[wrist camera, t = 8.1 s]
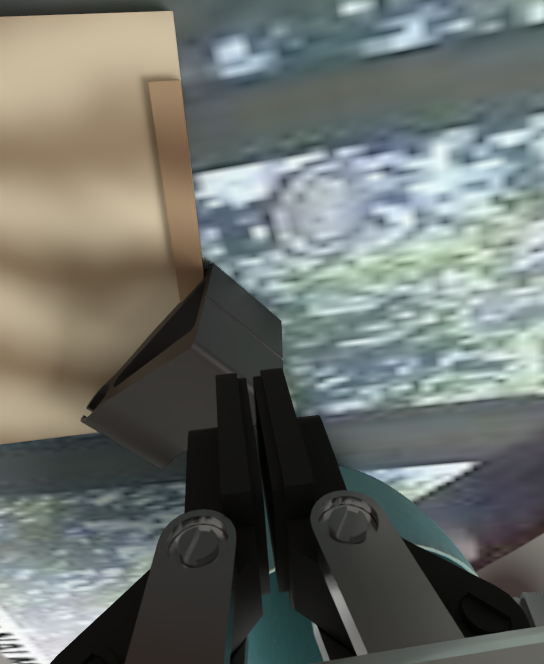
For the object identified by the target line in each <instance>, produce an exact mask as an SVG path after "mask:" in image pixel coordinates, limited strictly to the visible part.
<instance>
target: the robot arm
mask: <svg viewBox="0 0 544 664" xmlns="http://www.w3.org/2000/svg"><path fill="white" fill-rule="evenodd" d="M215 379H216V402H217V425H218V427H215V428H206V429H198V430H189V432H188V447H187V470H186V493H185V514H182V515H180V516H179V517H177V518H176V519H174V520H173V521H171V522H170V523H169V524H168V526H167V527H166V528H165V529H164V530H163V532H162V534H161V536H160V538H159V540H158V544H157V547H156V551H155V555H154V558H153V562H152V566H151V569H150V570H149V571H148V572H146V573H145V574H144V575H143V576H142V577H141V578H140V579H139V580H138V581H137V582H136V583H135V584H134V585H133V586H131V587H130V588H129V589H128V590H127V591H126V592H125V593H124V594H123V595H122V596H121V597H120V598H119V599H118V600H116V601H115V602H114V603H113V604H112V605H111V606H110V607H109V608H108V609H107V610H106V611H105V612H104V613H102V614H101V615H100V616H99V617H98V618H97V619H96V620H95V621H94V622H93V623H92V624H91V625H90V626H89V627H87V628H86V629H85V630H84V631H83V632H82V633H81V634H80V635H79V636H78V637H77V638H76V639H75V640H73V641H72V642H71V643H70V644H69V645H68V646H67V647H66V648H65V649H64V650H63V651H62V652H61V653H60V654H58V655H57V656H56V658H55V659H54V660H53V661H52V662H51V663H50V664H248V648H249V642H248V634H249V632H250V631H251V630H252V629H253V627H254V626H255V625H256V623H257V622H258V621H259V620H260V618H261V617H262V616H263V607H262V595H269V594H271V589H270V575H269V562H268V549H267V536H266V523H265V510H264V499H265V506H266V512H267V519H268V526H269V532H270V539H271V545H272V552H273V559H274V565H275V572H276V578H277V585H278V591H279V593H282V592H288V593H289V599H290V605H291V608H295V610H296V611H297V612H299V613H300V614H302V615H303V616H304V617H306V618H307V619H309V620H310V621H312V627H313V632H314V636H315V639H316V641H317V644H318V647H319V650H320V652H321V655H322V658H323V661H324V662H318V663H312V664H544V593H543V594H542V593H530V592H523V593H522V596H521V598H515V597H511V596H510V595H509V594H507V593H506V592H504V591H503V590H501V589H500V588H498V587H497V586H495V585H493V584H491V583H489V582H487V581H485V580H483V579H481V578H479V577H477V576H475V575H474V574H472V573H470V572H468V571H466V570H464V569H462V568H460V567H458V566H456V565H454V564H452V563H450V562H448V561H446V560H444V559H442V558H441V557H439V556H437V555H435V554H433V553H431V552H429V551H427V550H425V549H423V548H421V547H419V546H417V545H415V544H413V543H411V542H409V541H408V540H406V539H404V538H402V537H400V535H399V534H398V532H397V530H396V529H395V527H394V526H393V524H392V523H391V521H390V520H389V518H388V516H387V515H386V513H385V512H384V510H383V509H382V508H381V506H380V505H379V504H378V503H377V502H376V501H375V500H373V499H372V498H370V497H369V496H367V495H365V494H362V493H359V492H356V491H348V490H347V488H346V486H345V483H344V480H343V477H342V475H341V472H340V469H339V466H338V464H337V461H336V458H335V455H334V453H333V450H332V447H331V444H330V442H329V439H328V436H327V433H326V431H325V428H324V425H323V422H322V420H321V418H320V416H319V415H315V416H307V417H298V418H296V414H295V411H294V407H293V404H292V400H291V397H290V393H289V390H288V387H287V383H286V380H285V376H284V373H283V369H282V368H274V369H265V370H260V376H253V390H254V403H255V415H256V428H257V441H258V453H257V447H256V440H255V434H254V427H253V420H252V414H251V407H250V401H249V394H248V387H247V381H246V377H244V378H237V373H228V374H219V375H215ZM258 454H259V460H258ZM259 465H260V467H259ZM262 486H263V488H262ZM263 493H264V497H263Z"/></svg>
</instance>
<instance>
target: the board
mask: <svg viewBox="0 0 544 664" xmlns="http://www.w3.org/2000/svg"><path fill="white" fill-rule="evenodd" d="M203 279H204V271H203V262H202V254H201V245H200V237H199V229H198V220H197V212H196V203H195V195H194V186H193V178H192V169H191V161H190V153H189V144H188V136H187V127H186V119H185V110H184V102H183V94H182V85H181V77H180V68H179V60H178V51H177V43H176V34H175V26H174V18H173V12H172V11H157V12H128V13H99V14H70V15H41V16H12V17H0V444H8V443H16V442H24V441H32V440H40V439H48V438H56V437H64V436H72V435H80V434H88V433H96V432H97V431H96V430H94V429H92V428H91V427H89V426H87V425H86V424H84V423H82V422H81V418H82V416H83V415H85V416H86V417H88V416H89V415H90V414H91V413H92V412H91V411H90V410H88V409H86V407H87V405H88V404H89V402H90V401H91V400H92V398H93V397H94V396H95V394H96V393H97V392H98V391H99V390H100V388H101V387H102V386H103V385H104V384H106V383H107V382H108V381H109V380H110V379H111V378H112V377H113V376H114V375H115V374H116V373H117V372H118V371H119V370H120V369H121V368H122V366H123V365H124V364H125V363H126V362H127V361H128V359H129V358H130V357H131V356H132V355H133V354H134V353H135V351H136V350H137V349H138V348H139V347H140V346H141V344H142V343H143V342H144V341H145V340H146V339H147V337H148V336H149V335H150V334H151V333H152V332H153V331H154V330H155V328H156V327H157V326H158V325H159V324H160V323H161V322H162V321H163V320H164V319H165V318H166V317H167V316H168V314H169V313H170V312H171V311H172V310H173V309H174V308H175V307H176V306H177V305H178V304H179V303H180V304H181V303H182V301H183V300H184V299H185V298H186V297H187V296H188V295H189V294H190V293H191V292H192V291H193V290H194V289H195V287H196V286H197V285H198V284H199V283H200V282H201V281H202V280H203Z"/></svg>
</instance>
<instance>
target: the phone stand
mask: <svg viewBox="0 0 544 664" xmlns="http://www.w3.org/2000/svg"><path fill="white" fill-rule="evenodd" d="M282 357H283V355H282V325H281V320H279V319H278V318H277V317H276V316H275V315H274V314H272V313H271V312H270V311H269V310H268V309H267V308H265V307H264V306H263V305H262V304H261V303H260V302H258V301H257V300H256V299H255V298H254V297H253V296H251V295H250V294H249V293H248V292H247V291H246V290H244V289H243V288H242V287H241V286H240V285H238V284H237V283H236V282H235V281H234V280H233V279H231V278H230V277H229V276H228V275H227V274H226V273H224V272H223V271H222V270H221V269H220V268H219V267H217V266H216V265H215V264H214V263H212V264H211V265H210V266H209V267H208V268H207V269H206V270H205V272H204V279H203V280H202V281H201V282H200V283H199V284H198V285H197V286H196V287H195V289H194V290H193V291H192V292H191V293H190V294H189V295H188V296H187V297H186V298H185V299H184V300H183V301H182V303H181V304H180V303H179V304H178V305H177V306H176V307H175V308H174V309H173V310H172V311H171V312H170V313H169V314H168V316H167V317H166V318H165V319H164V320H163V321H162V322H161V323H160V324H159V325H158V326H157V327H156V328H155V330H154V331H153V332H152V333H151V334H150V335H149V336H148V337H147V339H146V340H145V341H144V342H143V343H142V344H141V346H140V347H139V348H138V349H137V350H136V351H135V353H134V354H133V355H132V356H131V357H130V358H129V359H128V361H127V362H126V363H125V364H124V365H123V366H122V368H121V369H120V370H119V371H118V372H117V373H116V374H115V375H114V376H113V377H112V378H111V379H110V380H109V381H108V382H107V383H106V384H104V385H103V386H102V387H101V388H100V390H99V391H98V392H97V393H96V394H95V396H94V397H93V398H92V400H91V401H90V402H89V404H88V405H87V407H86V409H88V410H90V411H91V412H92V413H91V414H90V415H89V416H88V417H86V416H85V415H83V416H82V418H81V422H82V423H84V424H86V425H87V426H89V427H91V428H92V429H94V430H96V431H97V432H99V433H101V434H102V435H104V436H106V437H107V438H109V439H111V440H112V441H114V442H116V443H117V444H119V445H121V446H123V447H124V448H126V449H128V450H129V451H131V452H133V453H134V454H136V455H138V456H139V457H141V458H143V459H144V460H146V461H148V462H149V463H151V464H153V465H154V466H156V467H158V468H163V467H165V466H166V465H168V464H169V463H170V462H171V461H172V460H173V459H174V458H175V457H177V456H178V455H179V454H181V453H183V452H185V451H187V447H188V432H189V430H198V429H206V428H215V427H218V425H217V402H216V379H215V375H219V374H228V373H237V378H244V377H246V381H247V387H248V394H249V401H250V407H251V414H252V420H253V425H255V424H256V415H255V403H254V390H253V376H260V370H265V369H274V368H282V369H283V361H282V360H281V358H282Z"/></svg>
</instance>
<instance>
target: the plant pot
mask: <svg viewBox="0 0 544 664" xmlns="http://www.w3.org/2000/svg"><path fill="white" fill-rule="evenodd" d="M339 469H340V472H341V475H342V477H343V480H344V483H345V486H346V488H347V490H348V491H356V492H359V493H362V494H365V495H367V496H369V497H370V498H372V499H373V500H375V501H376V502H377V503H378V504H379V505H380V506H381V508H382V509H383V510H384V512H385V513H386V515H387V516H388V518H389V520H390V521H391V523H392V524H393V526H394V527H395V529H396V530H397V532H398V534H399V535H400V537H402V538H404V539H406V540H408V541H409V542H411V543H413V544H415V545H417V546H419V547H421V548H423V549H425V550H427V551H429V552H431V553H433V554H435V555H437V556H439V557H441V558H442V559H444V560H446V561H448V562H450V563H452V564H454V565H456V566H458V567H460V568H462V569H464V570H466V571H468V572H470V573H472V574H474V575H475V576H477V577H478V575H477V574H476V572H475V571H474V569H473V568H472V566H471V565H470V564H469V562H468V561H467V559H466V558H465V557H464V555H463V554H462V553H461V552H460V550H459V549H458V548H457V547H456V545H455V544H454V543H453V542H452V541H451V540H450V538H449V537H448V536H447V535H446V534H445V533H444V532H443V531H442V530H441V528H440V527H439V526H438V525H437V524H436V523H435V522H434V521H433V520H432V519H431V518H430V517H429V516H427V515H426V514H425V513H424V512H423V511H422V510H421V509H420V508H419V507H417V506H416V505H415V504H414V503H413V502H411V501H410V500H409V499H407V498H406V497H405V496H403V495H402V494H401V493H399V492H398V491H396V490H395V489H393V488H392V487H390V486H389V485H387V484H385V483H383V482H382V481H380V480H378V479H376V478H374V477H372V476H370V475H367V474H365V473H362V472H360V471H357V470H353V469H350V468H346V467H343V466H339ZM262 488H263V486H262ZM263 497H264V493H263ZM264 510H265V523H266V536H267V549H268V562H269V575H270V589H271V594H269V595H262V607H263V616H262V617H261V618H260V620H259V621H258V622H257V623H256V625H255V626H254V627H253V629H252V630H251V631H250V632H249V634H248V642H249V648H248V664H312V663H318V662H324V661H323V658H322V655H321V652H320V650H319V647H318V644H317V641H316V639H315V636H314V632H313V627H312V621H310V620H309V619H307V618H306V617H304V616H303V615H302V614H300V613H299V612H297V611H296V610H295V608H291V605H290V599H289V593H288V592H282V593H279V591H278V585H277V578H276V572H275V565H274V559H273V552H272V545H271V539H270V532H269V526H268V519H267V512H266V506H265V499H264Z"/></svg>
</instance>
